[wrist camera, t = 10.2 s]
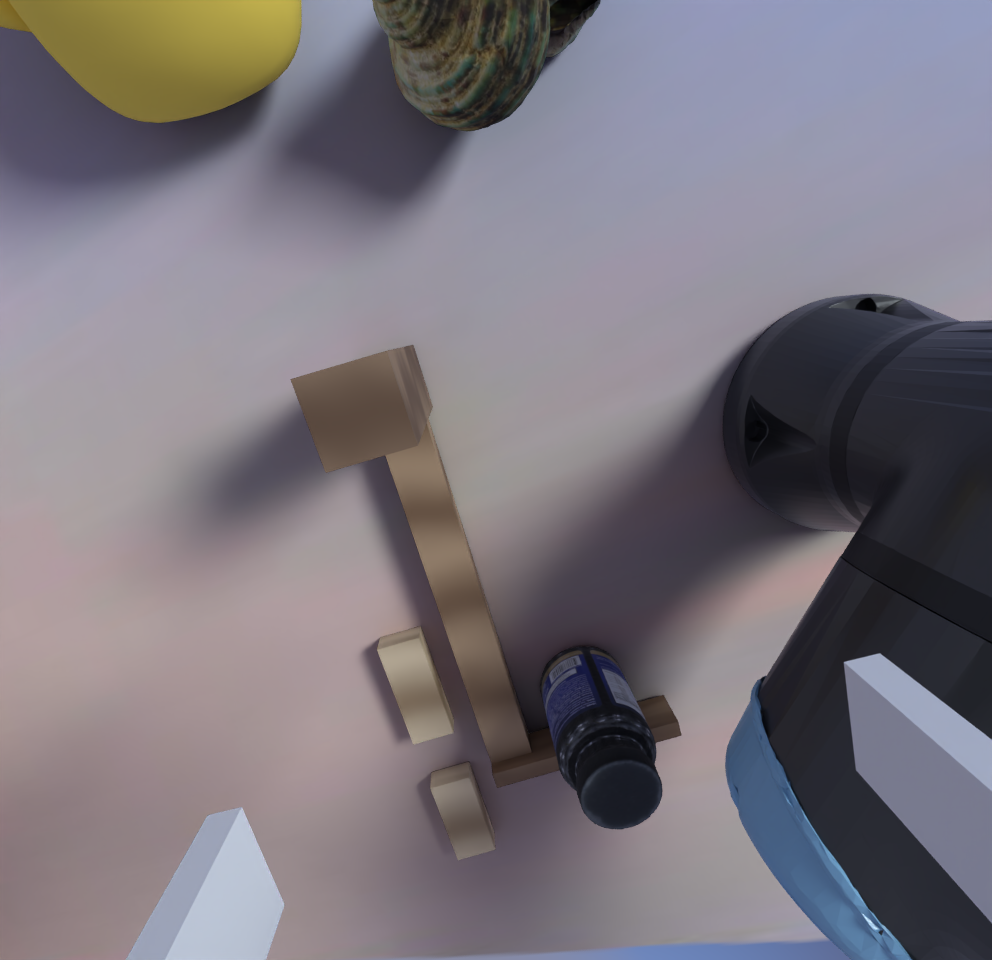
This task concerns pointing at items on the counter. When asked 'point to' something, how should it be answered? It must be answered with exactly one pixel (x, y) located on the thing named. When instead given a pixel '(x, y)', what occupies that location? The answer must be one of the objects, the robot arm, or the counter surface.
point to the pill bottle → (601, 737)
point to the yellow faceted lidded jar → (164, 49)
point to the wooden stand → (435, 539)
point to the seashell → (475, 52)
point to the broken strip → (431, 720)
